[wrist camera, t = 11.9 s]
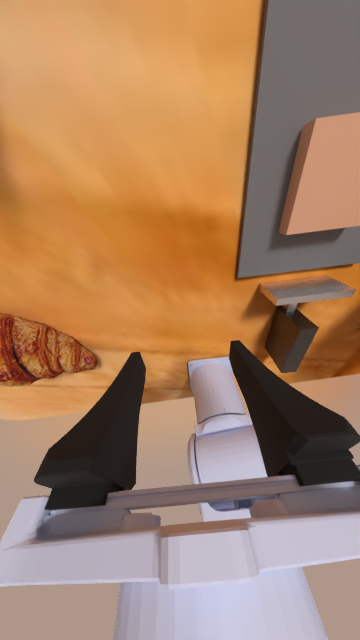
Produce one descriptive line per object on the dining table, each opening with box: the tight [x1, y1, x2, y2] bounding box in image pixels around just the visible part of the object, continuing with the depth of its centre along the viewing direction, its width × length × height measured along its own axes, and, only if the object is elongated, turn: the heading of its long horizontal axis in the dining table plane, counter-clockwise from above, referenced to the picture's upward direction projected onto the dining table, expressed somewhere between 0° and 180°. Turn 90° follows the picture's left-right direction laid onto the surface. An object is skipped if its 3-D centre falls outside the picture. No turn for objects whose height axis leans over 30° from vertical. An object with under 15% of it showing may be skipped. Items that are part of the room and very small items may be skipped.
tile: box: [279, 112, 360, 235], centre depth 13 cm, size 2×7×7 cm
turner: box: [259, 275, 356, 373], centre depth 21 cm, size 12×8×5 cm
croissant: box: [0, 313, 97, 386], centre depth 21 cm, size 21×10×8 cm
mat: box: [236, 0, 360, 278], centre depth 13 cm, size 18×14×1 cm
